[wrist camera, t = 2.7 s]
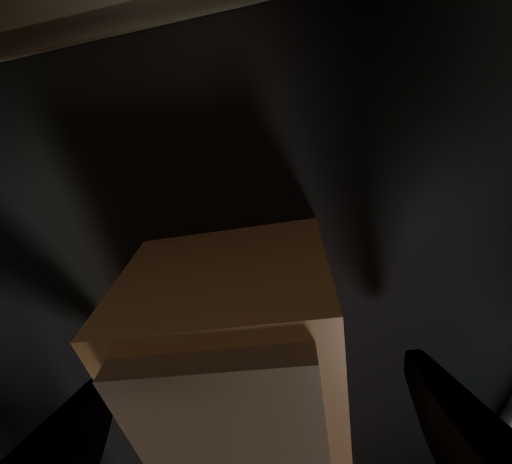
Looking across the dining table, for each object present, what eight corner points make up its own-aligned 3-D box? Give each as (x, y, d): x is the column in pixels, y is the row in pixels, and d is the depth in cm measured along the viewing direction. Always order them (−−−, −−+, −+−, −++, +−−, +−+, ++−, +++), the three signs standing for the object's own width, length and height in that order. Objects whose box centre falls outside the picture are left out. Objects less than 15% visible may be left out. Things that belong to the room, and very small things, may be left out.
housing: (315, 215, 9) (349, 340, 5) (333, 397, 12) (360, 552, 8) (146, 238, 9) (53, 365, 5) (210, 404, 13) (183, 553, 9)
